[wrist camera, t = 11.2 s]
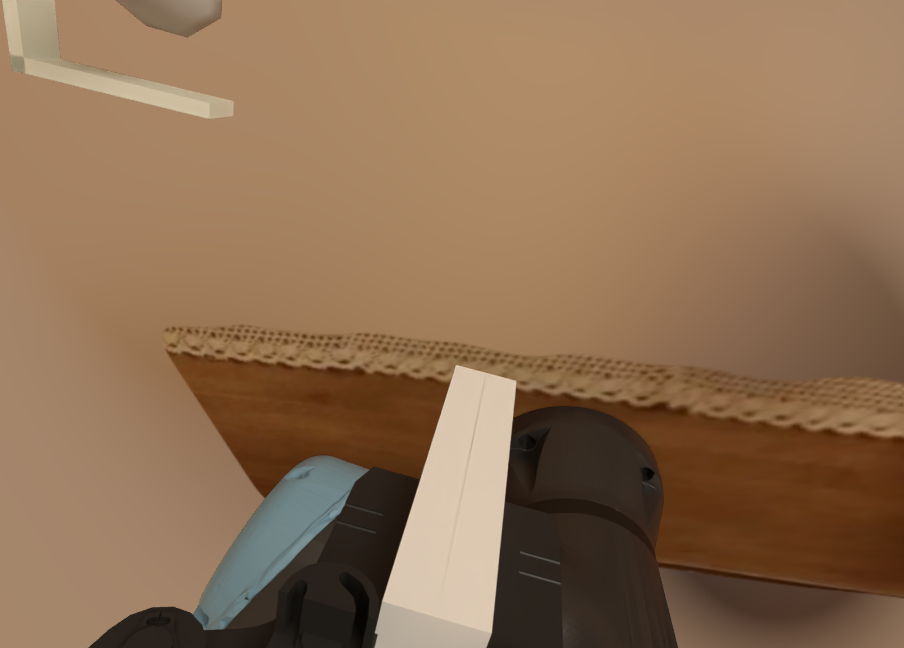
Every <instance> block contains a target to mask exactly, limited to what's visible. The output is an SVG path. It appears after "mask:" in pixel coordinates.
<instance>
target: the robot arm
mask: <svg viewBox="0 0 904 648" xmlns="http://www.w3.org/2000/svg"><path fill="white" fill-rule="evenodd" d="M515 390H516V381H514V380H511V379H507V378H503V377H499V376H496V375H492V374H488V373H484V372H481V371H477V370H473V369H469V368H465V367H462V366H458V365H456V368H455V371H454V374H453V377H452V380H451V384H450V387H449V390H448V393H447V396H446V399H445V403H444V406H443V409H442V412H441V415H440V419H439V422H438V425H437V428H436V431H435V435H434V438H433V441H432V444H431V447H430V451H429V454H428V457H427V460H426V463H425V466H424V470H423V473H422V476H421V479H416V478H413V477H409V476H405V475H402V474H398V473H395V472H391V471H387V470H384V469H380V468H377V467H373V468H371V469H370V470H369V469H366V468H363V467H360V466H358V465H355V464H352V463H349V462H346V461H344V460H341V459H338V458H335V457H332V456H324V455H321V456H314V457H311V458H308V459H306V460H304V461H302V462H301V463H299V464H298V465H296V466H295V467H294V468H293V469H292V470H290V471H289V472H288V473H287V474H286V475H285V476H284V477H283V478H282V480H281V481H280V482H279V483H278V484H277V485H276V486H275V487H274V488H273V490H272V491H271V492H270V493H269V495H268V496H267V497H266V498H265V500H264V501H263V502H262V503H261V505H260V506H259V507H258V509H257V510H256V511H255V513H254V514H253V515H252V517H251V518H250V519H249V521H248V522H247V524H246V525H245V527H244V528H243V529H242V531H241V532H240V534H239V535H238V536H237V538H236V540H235V541H234V542H233V544H232V546H231V547H230V548H229V550H228V552H227V553H226V555H225V556H224V558H223V559H222V561H221V563H220V564H219V566H218V567H217V569H216V571H215V572H214V574H213V576H212V577H211V579H210V581H209V583H208V584H207V586H206V588H205V590H204V592H203V594H202V596H201V599H200V601H199V602H200V603H199V605H198V607H197V609H196V610H195V612H194V614H193V615H192V614H191V613H190V612H187V611H184V610H181V609H178V608H176V607H153V608H149V609H146V610H143V611H141V612H138V613H135V614H132V615H130V616H128V617H127V618H125V619H124V620H122V621H121V622H119V623H118V624H116V625H115V626H113V627H112V628H110V629H109V630H108V631H107V632H106V633H104V634H103V635H102V636H101V637H100V638H99V639H98V640H97V641H96V642H94V643H93V644H92V645H91V646H90V647H89V648H678V646H677V642H676V638H675V633H674V629H673V625H672V621H671V618H670V613H669V609H668V605H667V601H666V598H665V593H664V589H663V585H662V581H661V577H660V573H659V569H658V565H657V561H656V557H655V552H654V551H655V546H656V541H657V536H658V531H659V526H660V521H661V516H662V510H663V504H664V493H663V484H662V480H661V476H660V473H659V469H658V466H657V462H656V460H655V457H654V455H653V453H652V451H651V450H650V448H649V446H648V445H647V444H646V442H645V441H644V440H643V439H642V437H641V436H640V435H639V434H638V433H636V432H635V431H634V430H633V429H632V428H630V427H629V426H628V425H626V424H625V423H623V422H622V421H620V420H618V419H616V418H614V417H612V416H610V415H607V414H605V413H602V412H599V411H595V410H591V409H587V408H581V407H569V406H561V407H549V408H543V409H539V410H535V411H531V412H529V413H526V414H523V415H521V416H519V417H517V418H515V419H513V410H514V400H515Z"/></svg>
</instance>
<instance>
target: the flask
mask: <svg viewBox="0 0 904 648" xmlns="http://www.w3.org/2000/svg"><path fill="white" fill-rule="evenodd" d="M116 1H117V2H119V3H120V4H121V5H122V6H123V7H125V8H126V9H127V10H128V11H129V12H131V13H132V14H133V15H134V16H135V17H137V18H138V19H139V20H140V21H141V22H143V23H144V24H145V25H147V26H149V27H152V28H156V29H160V30H164V31H167V32H171V33H174V34H178V35H181V36H184V37H189V36H190V35H192V34H194V33H196V32H198V31H199V30H201V29H203V28H204V27H206V26H208V25H210V24H211V23H213V22H215V21H216V20H218V19H220V18H221V10H222V0H116Z"/></svg>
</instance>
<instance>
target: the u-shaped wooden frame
mask: <svg viewBox="0 0 904 648" xmlns="http://www.w3.org/2000/svg"><path fill="white" fill-rule="evenodd" d="M2 2H3V10H4V17H5V24H6V31H7V38H8V46H9V53H10V60H11V67H12V71H17V72H21V73H25V74H29V75H33V76H37V77H41V78H45V79H49V80H53V81H57V82H61V83H65V84H69V85H74V86H77V87H82V88H85V89H89V90H94V91H97V92H102V93H105V94H109V95H114V96H118V97H122V98H126V99H130V100H134V101H138V102H142V103H146V104H150V105H154V106H158V107H162V108H166V109H170V110H174V111H178V112H183V113H186V114H190V115H195V116H198V117H203V118H207V119H214V118H224V117H232V116H233V110H234V101H230V100H226V99H222V98H218V97H213V96H210V95H206V94H202V93H197V92H193V91H189V90H185V89H181V88H177V87H173V86H169V85H165V84H160V83H157V82H152V81H148V80H144V79H140V78H136V77H132V76H128V75H124V74H120V73H116V72H112V71H108V70H103V69H99V68H95V67H91V66H87V65H83V64H79V63H75V62H71V61H66V60H63V59H61V58H60V48H59V38H58V28H57V19H56V9H55V0H2Z"/></svg>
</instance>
